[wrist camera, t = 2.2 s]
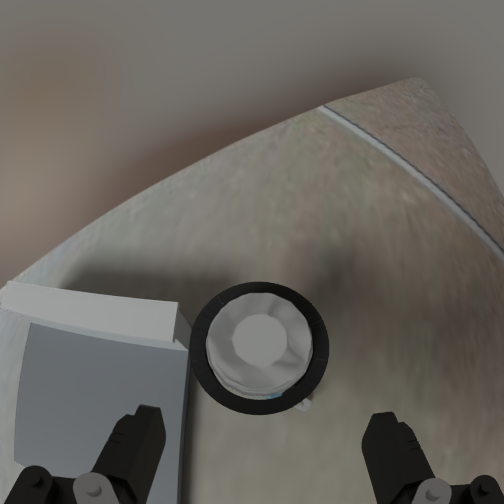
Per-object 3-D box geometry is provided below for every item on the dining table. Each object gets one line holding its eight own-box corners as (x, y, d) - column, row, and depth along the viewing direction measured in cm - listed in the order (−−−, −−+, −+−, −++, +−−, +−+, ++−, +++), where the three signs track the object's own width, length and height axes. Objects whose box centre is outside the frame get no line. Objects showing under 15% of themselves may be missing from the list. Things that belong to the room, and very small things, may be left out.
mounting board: (195, 328, 20) (178, 302, 16) (180, 518, 13) (158, 545, 8) (44, 306, 21) (8, 280, 16) (23, 460, 13) (-19, 459, 9)
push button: (327, 377, 18) (390, 345, 10) (278, 439, 16) (303, 467, 8) (251, 321, 20) (249, 246, 12) (200, 377, 18) (153, 345, 10)
